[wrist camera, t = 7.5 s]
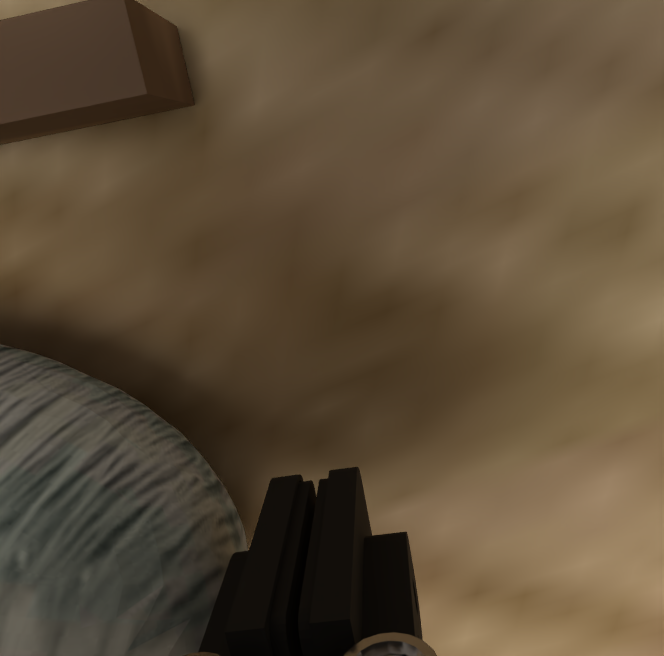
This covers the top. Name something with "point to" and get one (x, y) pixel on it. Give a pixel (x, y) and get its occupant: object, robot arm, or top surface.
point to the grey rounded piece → (102, 520)
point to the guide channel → (87, 68)
